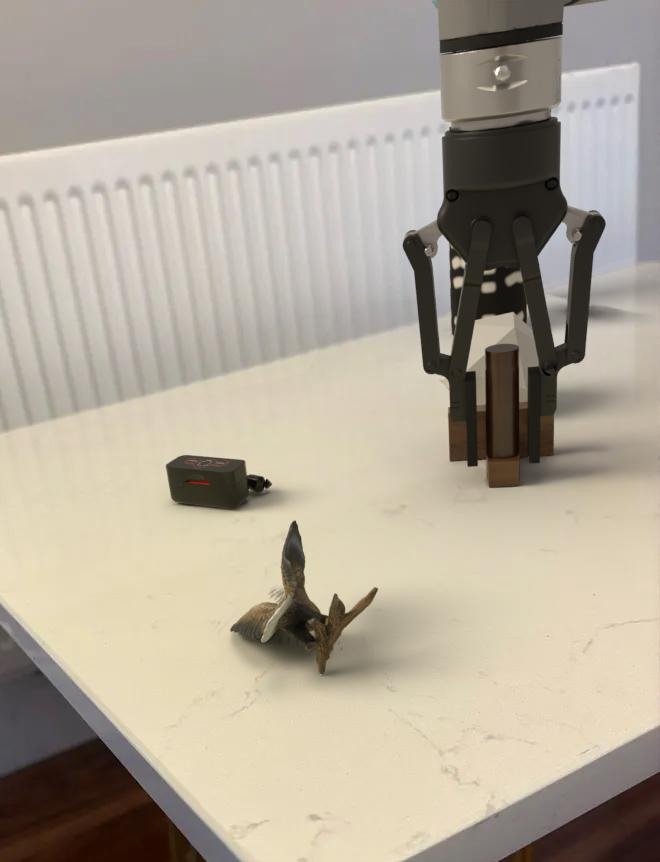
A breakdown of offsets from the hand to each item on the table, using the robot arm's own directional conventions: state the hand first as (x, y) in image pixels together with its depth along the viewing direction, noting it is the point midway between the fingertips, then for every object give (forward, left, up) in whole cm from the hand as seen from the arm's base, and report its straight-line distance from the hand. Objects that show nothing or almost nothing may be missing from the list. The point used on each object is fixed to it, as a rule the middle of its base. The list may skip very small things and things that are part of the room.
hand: (502, 457), depth 78 cm
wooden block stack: (-1, -2, -2) cm, 3 cm away
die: (-9, -14, -2) cm, 17 cm away
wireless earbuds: (+19, -11, -2) cm, 22 cm away
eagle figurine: (+24, +13, -2) cm, 27 cm away
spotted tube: (-25, -38, -2) cm, 45 cm away
